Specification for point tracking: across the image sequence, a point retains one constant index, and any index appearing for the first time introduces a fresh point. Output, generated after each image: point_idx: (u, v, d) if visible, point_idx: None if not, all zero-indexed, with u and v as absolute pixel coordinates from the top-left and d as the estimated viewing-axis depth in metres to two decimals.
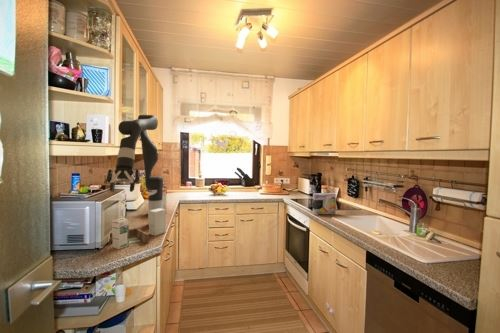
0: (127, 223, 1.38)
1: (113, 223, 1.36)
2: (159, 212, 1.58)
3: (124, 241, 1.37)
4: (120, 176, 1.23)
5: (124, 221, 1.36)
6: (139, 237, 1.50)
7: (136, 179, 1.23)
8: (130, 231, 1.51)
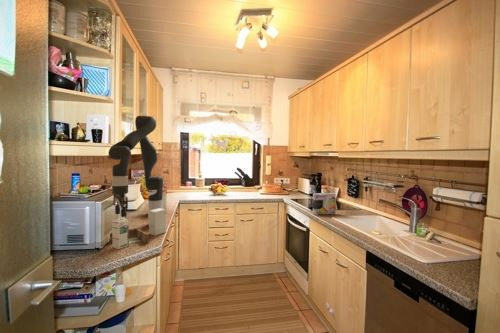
0: (127, 223, 1.38)
1: (113, 223, 1.36)
2: (159, 212, 1.58)
3: (124, 241, 1.37)
4: (117, 202, 1.37)
5: (124, 221, 1.36)
6: (139, 237, 1.50)
7: (122, 207, 1.31)
8: (130, 231, 1.51)
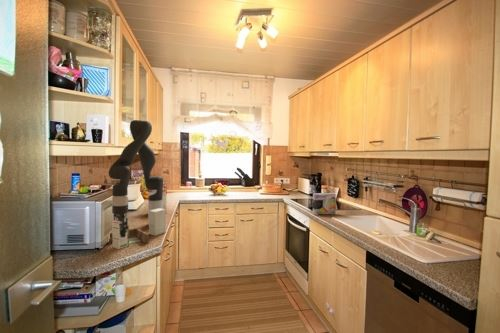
0: None
1: (113, 223, 1.36)
2: (159, 212, 1.58)
3: (124, 241, 1.37)
4: None
5: None
6: (139, 237, 1.50)
7: (122, 227, 1.32)
8: (130, 231, 1.51)
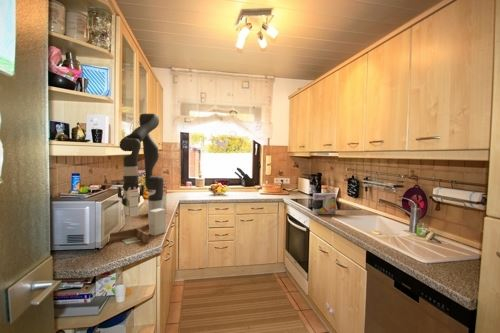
0: None
1: (131, 193, 1.43)
2: (159, 212, 1.58)
3: None
4: None
5: None
6: (139, 237, 1.50)
7: (142, 193, 1.49)
8: (130, 231, 1.51)
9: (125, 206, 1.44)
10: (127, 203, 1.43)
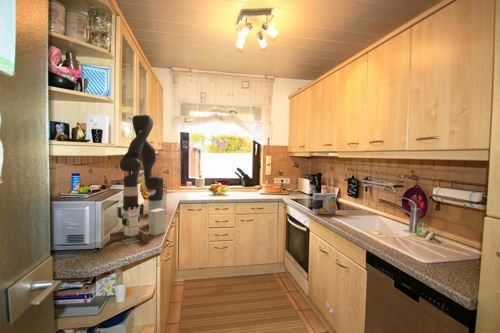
0: None
1: (131, 213, 1.43)
2: (159, 212, 1.58)
3: None
4: None
5: None
6: (139, 237, 1.50)
7: (142, 213, 1.49)
8: None
9: (125, 226, 1.44)
10: (127, 223, 1.43)
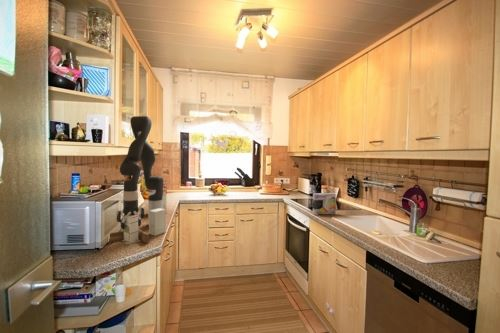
0: None
1: (131, 219, 1.43)
2: (159, 212, 1.58)
3: None
4: (129, 215, 1.45)
5: None
6: (139, 237, 1.50)
7: (143, 216, 1.50)
8: None
9: (125, 232, 1.45)
10: (127, 229, 1.44)
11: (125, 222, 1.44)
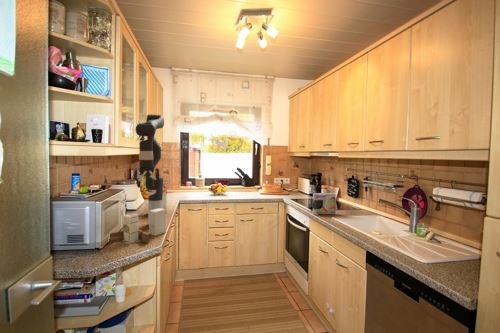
0: None
1: (131, 219, 1.43)
2: (159, 212, 1.58)
3: None
4: (145, 175, 1.50)
5: None
6: (139, 237, 1.50)
7: (158, 176, 1.55)
8: None
9: (125, 232, 1.45)
10: (127, 229, 1.44)
11: (125, 222, 1.44)
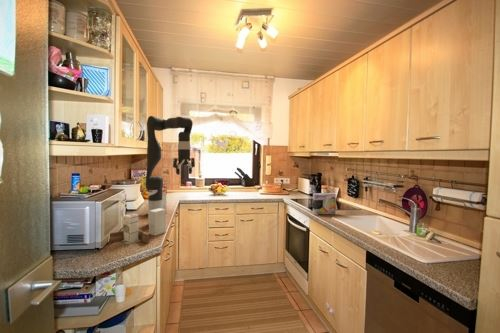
0: None
1: (131, 219, 1.43)
2: (159, 212, 1.58)
3: None
4: (183, 163, 1.65)
5: None
6: (139, 237, 1.50)
7: (193, 165, 1.71)
8: None
9: (125, 232, 1.45)
10: (127, 229, 1.44)
11: (125, 222, 1.44)
